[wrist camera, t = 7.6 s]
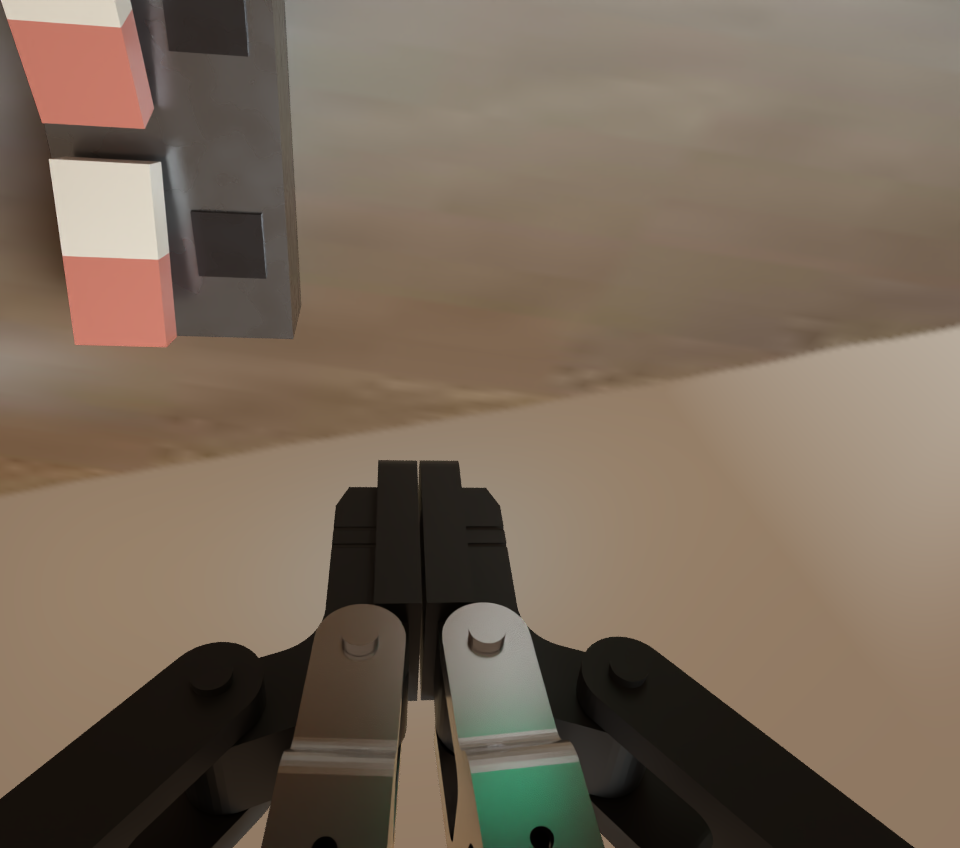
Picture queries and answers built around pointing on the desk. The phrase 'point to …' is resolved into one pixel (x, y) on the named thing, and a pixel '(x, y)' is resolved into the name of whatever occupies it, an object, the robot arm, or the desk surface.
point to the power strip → (216, 161)
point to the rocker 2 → (115, 250)
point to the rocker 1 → (82, 61)
